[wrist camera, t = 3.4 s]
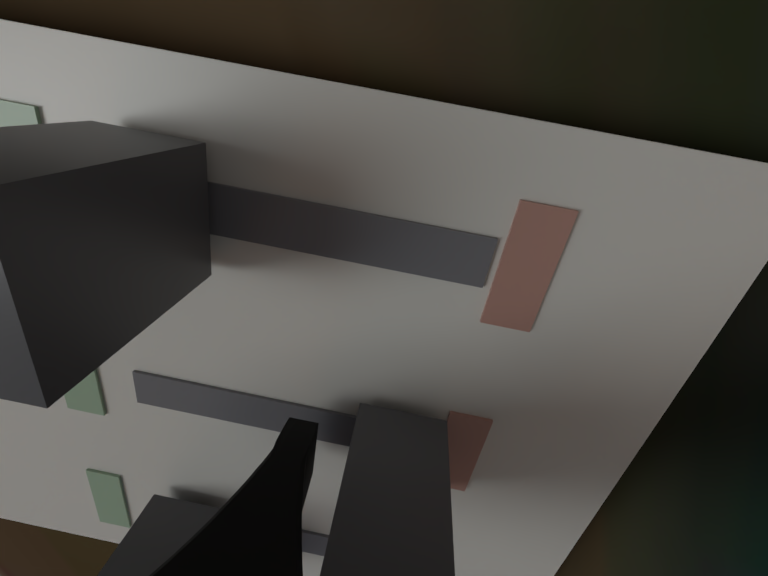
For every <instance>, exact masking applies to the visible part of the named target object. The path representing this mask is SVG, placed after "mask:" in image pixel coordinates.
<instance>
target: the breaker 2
mask: <svg viewBox="0 0 768 576" xmlns="http://www.w3.org/2000/svg"><path fill="white" fill-rule="evenodd" d="M219 509H220V508H217V507H212V506H207V505H203V504H198V503H193V502H189V501H184V500H179V499H175V498H170V497H165V496H161V495H156V494H154V495H153V496H152V498H151V499H150V501H149V502H148V504H147V505H146V507H145V508H144V509H143V511H142V512H141V514H140V515H139V517H138V518H137V519H136V521H135V522H134V524H133V525H132V527H131V528H130V530H129V531H128V532H127V534H126V535H125V537H124V538H123V540H122V541H121V542H120V544H119V545H118V547H117V548H116V550H115V551H114V552H113V554H112V555H111V557H110V558H109V560H108V561H107V563H106V564H105V565H104V567H103V568H102V570H101V571H100V573H99V574H98V575H97V576H149V575H150V574H152V573H153V572H154V571H155V570H156V569H157V568H158V567H160V566H161V565H162V564H163V563H164V562H165V561H166V560H168V559H169V558H170V557H171V556H172V555H173V554H174V553H175V552H176V551H177V550H179V549H180V548H181V547H182V546H183V545H184V544H185V543H186V542H187V541H188V540H189V539H190V538H191V537H192V536H193V535H194V534H196V533H197V532H198V531H199V530H200V529H201V528H202V527H203V526H204V525H205V524H206V523H207V522H208V521H209V520H210V519H211V518H212V517H213V516H214V515H215V514H216V513H217V511H218V510H219Z"/></svg>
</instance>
